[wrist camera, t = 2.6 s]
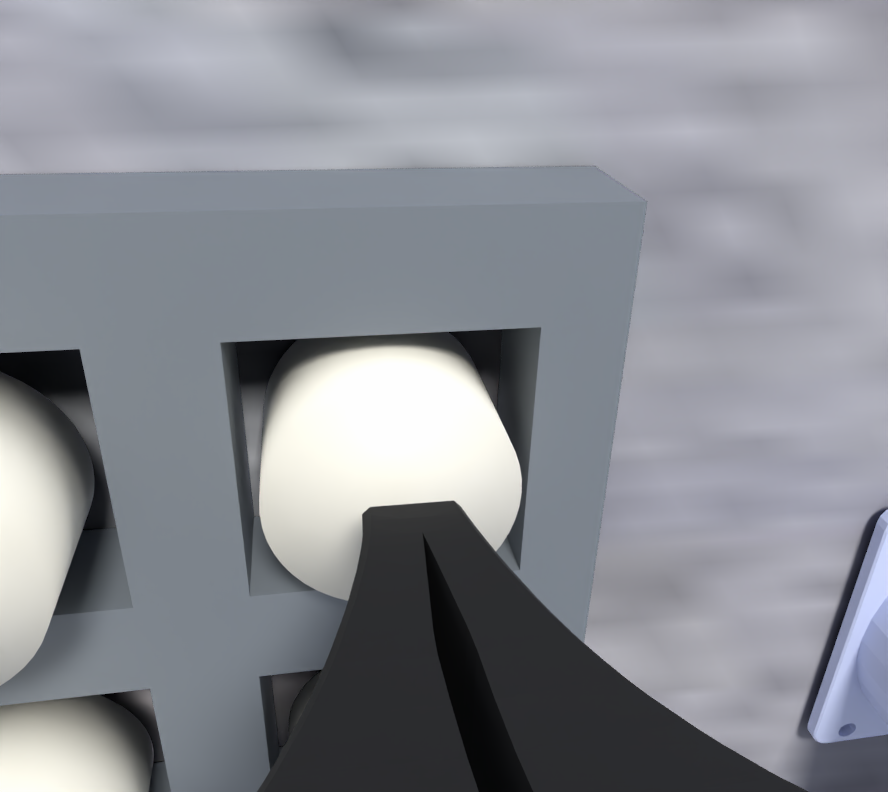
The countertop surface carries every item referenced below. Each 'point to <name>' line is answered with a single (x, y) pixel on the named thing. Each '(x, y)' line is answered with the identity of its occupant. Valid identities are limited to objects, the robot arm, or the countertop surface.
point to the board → (221, 414)
